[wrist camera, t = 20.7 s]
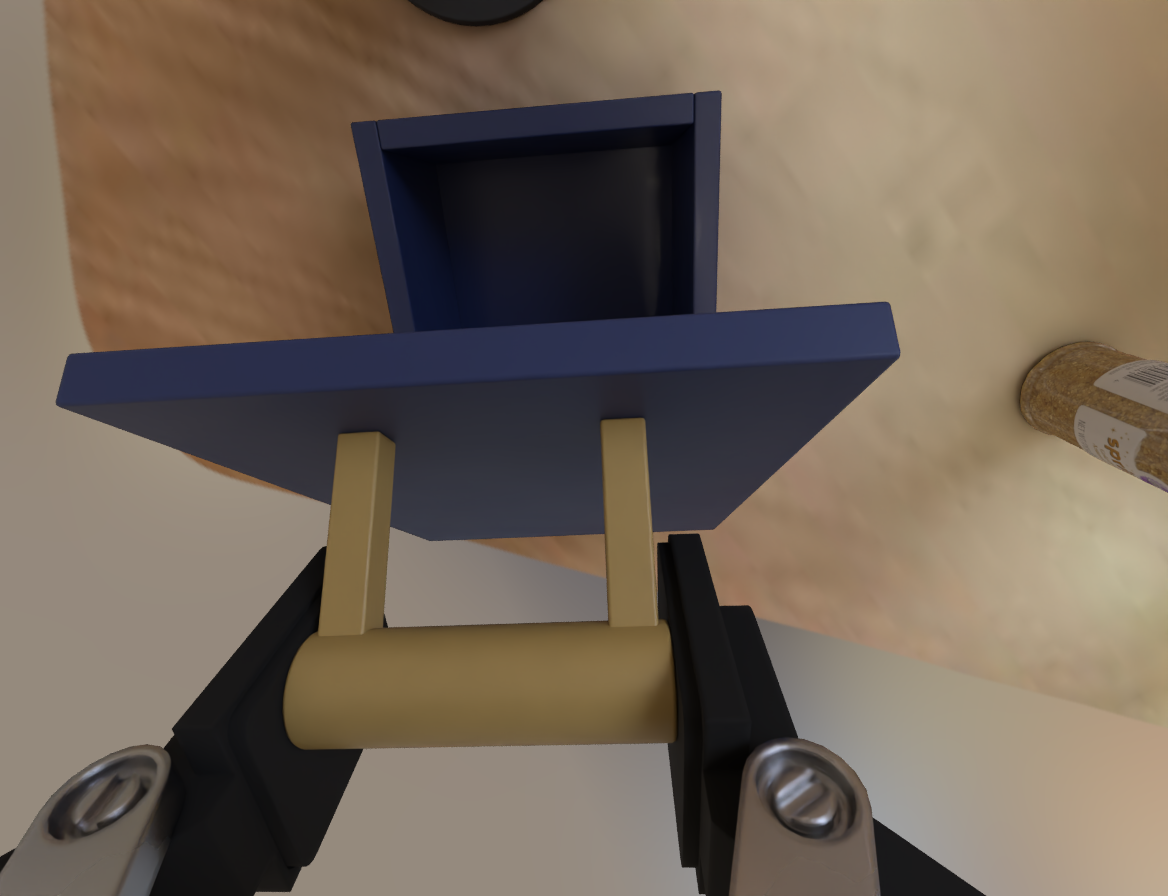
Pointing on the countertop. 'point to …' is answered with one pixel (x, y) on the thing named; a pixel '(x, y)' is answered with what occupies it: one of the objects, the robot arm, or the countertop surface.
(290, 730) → the case lid
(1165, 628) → the countertop surface
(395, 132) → the case
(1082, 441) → the sprinkles bottle
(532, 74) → the countertop surface
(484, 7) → the coaster
